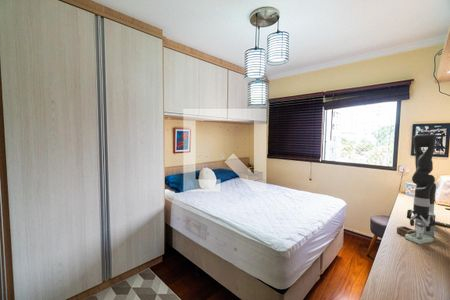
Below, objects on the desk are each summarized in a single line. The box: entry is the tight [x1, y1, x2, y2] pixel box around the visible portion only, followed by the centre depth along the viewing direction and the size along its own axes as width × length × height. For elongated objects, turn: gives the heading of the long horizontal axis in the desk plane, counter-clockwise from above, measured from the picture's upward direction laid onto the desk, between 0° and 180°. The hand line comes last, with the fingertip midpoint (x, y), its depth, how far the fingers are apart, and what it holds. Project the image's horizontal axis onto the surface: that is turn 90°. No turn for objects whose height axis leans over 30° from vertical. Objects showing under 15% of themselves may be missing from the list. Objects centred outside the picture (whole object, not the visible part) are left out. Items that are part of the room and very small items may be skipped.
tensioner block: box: [396, 226, 415, 237], centre depth 142 cm, size 7×7×4 cm
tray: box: [404, 233, 434, 245], centre depth 134 cm, size 13×8×2 cm, turn 105°
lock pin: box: [414, 222, 425, 240], centre depth 134 cm, size 5×5×10 cm
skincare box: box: [414, 212, 436, 238], centre depth 141 cm, size 8×7×16 cm
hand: (419, 228), depth 134 cm, fingers open, 8 cm apart
